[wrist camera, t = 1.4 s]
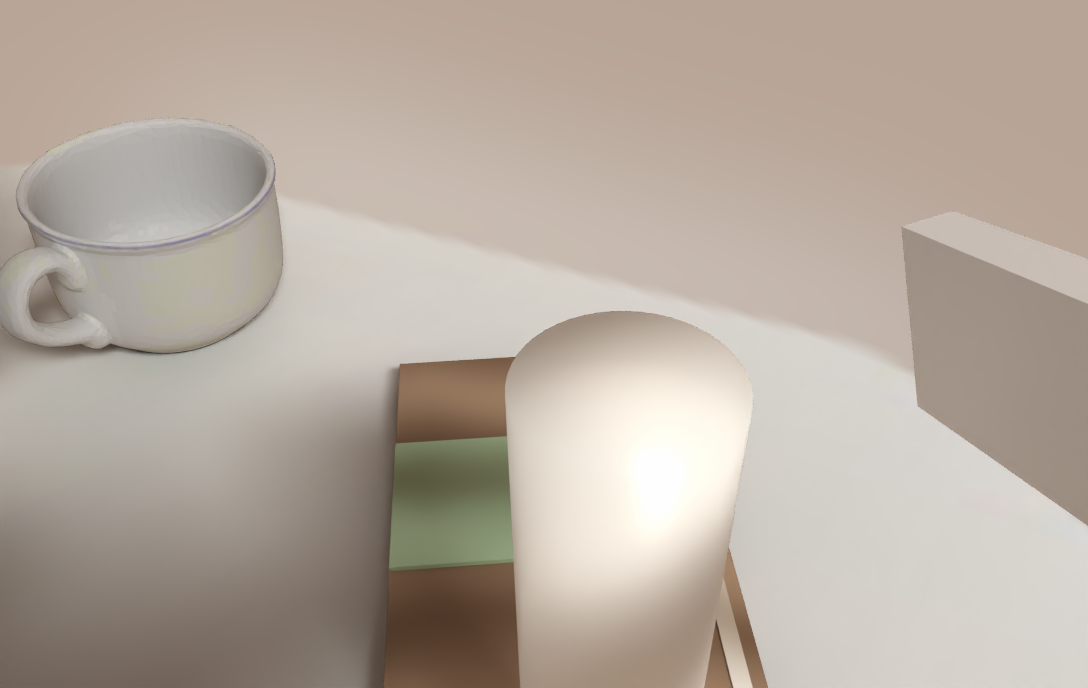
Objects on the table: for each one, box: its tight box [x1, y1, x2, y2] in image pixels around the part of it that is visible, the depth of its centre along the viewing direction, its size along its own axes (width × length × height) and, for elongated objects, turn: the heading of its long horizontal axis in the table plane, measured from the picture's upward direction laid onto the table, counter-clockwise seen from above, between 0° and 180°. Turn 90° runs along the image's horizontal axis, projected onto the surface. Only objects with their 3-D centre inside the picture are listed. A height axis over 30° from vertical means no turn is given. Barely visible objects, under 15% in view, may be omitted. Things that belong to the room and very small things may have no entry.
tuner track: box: [384, 357, 768, 688], centre depth 33 cm, size 28×12×2 cm, turn 5°
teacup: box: [0, 118, 283, 353], centre depth 45 cm, size 14×11×8 cm
